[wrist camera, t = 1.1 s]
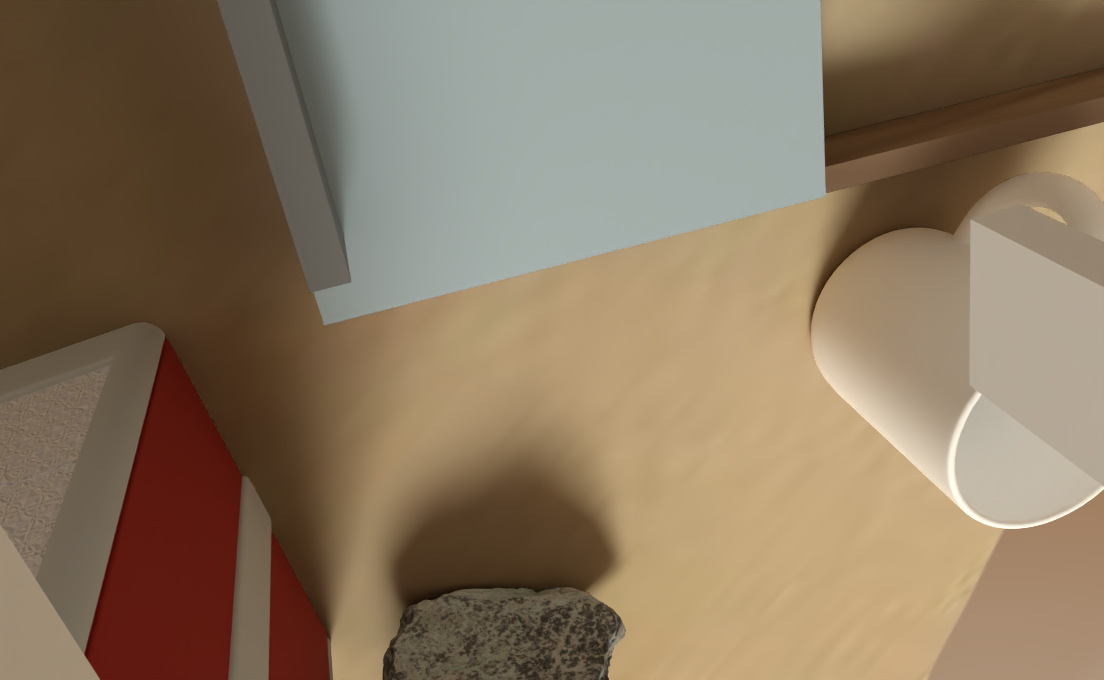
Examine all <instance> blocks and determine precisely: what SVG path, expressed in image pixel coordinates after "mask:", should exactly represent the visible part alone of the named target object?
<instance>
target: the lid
mask: <svg viewBox="0 0 1104 680" xmlns="http://www.w3.org/2000/svg"><path fill="white" fill-rule="evenodd" d="M217 3H218V6H219V9H220V12H221V16H222V19H223V22H224V25H225V28H226V31H227V34H228V38H229V41H230V44H231V47H232V50H233V53H234V56H235V60H236V63H237V66H238V69H239V72H240V75H241V79H242V82H243V85H244V88H245V91H246V94H247V97H248V101H249V104H250V107H251V110H252V113H253V116H254V119H255V123H256V126H257V129H258V132H259V135H260V138H261V142H262V145H263V148H264V151H265V154H266V157H267V160H268V164H269V167H270V170H271V173H272V176H273V179H274V182H275V186H276V189H277V192H278V195H279V198H280V201H281V205H282V208H283V211H284V214H285V217H286V220H287V223H288V227H289V230H290V233H291V236H292V239H293V242H294V245H295V249H296V252H297V255H298V258H299V261H300V264H301V268H302V271H303V274H304V277H305V280H306V283H307V286H308V290H309V293H312V292H314V295H315V298H316V301H317V304H318V308H319V311H320V314H321V317H322V320H323V323H324V326H325V325H328V324H332V323H336V322H340V321H344V320H348V319H352V318H356V317H359V316H363V315H367V314H371V313H375V312H379V311H383V310H387V309H391V308H394V307H398V306H402V305H406V304H410V303H414V302H418V301H422V300H426V299H429V298H433V297H437V296H441V295H445V294H449V293H453V292H457V291H461V290H464V289H468V288H472V287H476V286H480V285H484V284H488V283H492V282H495V281H499V280H503V279H507V278H511V277H515V276H519V275H523V274H527V273H530V272H534V271H538V270H542V269H546V268H550V267H554V266H558V265H562V264H565V263H569V262H573V261H577V260H581V259H585V258H589V257H593V256H596V255H600V254H604V253H608V252H612V251H616V250H620V249H624V248H628V247H631V246H635V245H639V244H643V243H647V242H651V241H655V240H659V239H663V238H666V237H670V236H674V235H678V234H682V233H686V232H690V231H694V230H698V229H701V228H705V227H709V226H713V225H717V224H721V223H725V222H729V221H732V220H736V219H740V218H744V217H748V216H752V215H756V214H760V213H764V212H767V211H771V210H775V209H779V208H783V207H787V206H791V205H795V204H799V203H802V202H806V201H810V200H814V199H818V198H822V197H826V188H825V151H824V114H823V77H822V41H821V4H820V0H217Z"/></svg>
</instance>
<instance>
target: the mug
mask: <svg viewBox="0 0 1104 680" xmlns="http://www.w3.org/2000/svg"><path fill="white" fill-rule="evenodd" d="M1017 204H1022V205H1024V206H1026V207H1028V208H1029V207H1044V208H1047V209H1050V210H1052V211H1054V212H1056V213H1057V214H1059V215H1060V216H1061V217H1062V218H1063V219H1064V221H1065V222H1066V223H1067V225H1068V226H1070V227H1072V228H1074V229H1077V230H1079V231H1081V232H1083V233H1085V234H1088V235H1090V236H1092V237H1094V238H1096V239H1099V240H1101V241H1103V242H1104V202H1103V201H1102V199H1101V198H1100V197H1099V196H1098V195H1097V194H1096V193H1095V192H1094V191H1092V190H1091V189H1090V188H1088V187H1087V186H1086V185H1084V184H1083V183H1082V182H1080V181H1078V180H1076V179H1074V178H1071V177H1069V176H1066V175H1062V174H1058V173H1047V172H1033V173H1025V174H1022V175H1018V176H1015V177H1012V178H1010V179H1008V180H1006V181H1004V182H1002V183H1000V184H998V185H996V186H995V187H993V188H992V189H991V190H989V191H988V192H986V193H985V194H984V195H983V196H982V197H981V198H980V199H979V200H978V201H977V202H976V203H975V204H974V206H973V207H972V208H971V209H970V210H969V212H968V213H967V214H966V216H965V217H964V219H963V220H962V222H961V223H960V225H959V226H958V228H957V230H956V231H955V233H954V235H952V234H950V233H947V232H944V231H940V230H936V229H932V228H923V227H921V228H906V229H900V230H895V231H892V232H889V233H886V234H883V235H881V236H879V237H876V238H874V239H872V240H871V241H869V242H867V243H866V244H864V245H862V246H861V247H860V248H858V249H857V250H856V251H854V252H853V253H852V254H851V255H850V256H849V257H847V258H846V259H845V260H844V261H843V262H842V263H841V264H840V266H839V267H838V268H837V269H836V270H835V271H834V273H833V274H832V275H831V277H830V278H829V280H828V281H827V283H826V285H825V286H824V288H823V290H822V292H821V294H820V296H819V298H818V301H817V303H816V306H815V310H814V313H813V318H812V323H811V345H812V351H813V355H814V359H815V361H816V364H817V366H818V368H819V370H820V371H821V373H822V375H823V376H824V378H825V379H826V381H827V382H828V383H829V384H830V385H831V386H832V387H833V389H834V390H835V391H836V392H837V393H838V394H839V395H840V396H841V397H842V398H843V399H844V400H845V401H846V402H847V403H849V404H850V405H851V406H852V407H853V408H854V409H855V410H856V411H857V412H858V413H859V414H860V415H861V416H862V417H863V418H865V419H866V420H867V421H868V422H869V423H870V424H871V425H872V426H873V427H874V428H875V429H876V430H877V431H878V432H880V433H881V434H882V435H883V436H884V437H885V438H886V439H887V440H888V441H889V442H890V443H891V444H892V445H893V446H894V447H896V448H897V449H898V450H899V451H900V452H901V453H902V454H903V455H904V456H905V457H906V458H907V459H908V460H909V461H910V462H912V463H913V464H914V465H915V466H916V467H917V468H918V469H919V470H920V471H921V472H922V473H923V474H924V475H925V476H927V477H928V478H929V479H930V480H931V481H932V482H933V483H934V484H935V485H936V486H937V487H938V488H939V489H940V490H941V491H943V492H944V493H945V494H946V495H947V496H948V497H949V498H950V499H951V500H952V501H953V502H954V503H955V504H956V505H958V506H959V507H960V508H961V509H962V510H963V511H964V512H965V513H966V514H968V515H969V516H970V517H972V518H973V519H975V520H977V521H979V522H981V523H983V524H987V525H990V526H993V527H998V528H1005V529H1013V528H1014V529H1018V528H1026V527H1032V526H1036V525H1040V524H1044V523H1047V522H1050V521H1052V520H1055V519H1058V518H1060V517H1062V516H1064V515H1066V514H1068V513H1070V512H1072V511H1073V510H1075V509H1077V508H1079V507H1080V506H1082V505H1083V504H1085V503H1086V502H1088V501H1089V500H1091V499H1092V498H1094V497H1095V496H1096V495H1097V494H1098V493H1100V492H1101V491H1102V490H1103V489H1104V486H1102V485H1101V484H1100V483H1098V482H1097V481H1096V480H1094V479H1093V478H1092V477H1090V476H1089V475H1088V474H1086V473H1085V472H1084V471H1082V470H1081V469H1080V468H1078V467H1077V466H1076V465H1074V464H1073V463H1072V462H1070V461H1069V460H1068V459H1066V458H1065V457H1064V456H1062V455H1061V454H1060V453H1059V452H1057V451H1056V450H1055V449H1053V448H1052V447H1051V446H1049V445H1048V444H1047V443H1045V442H1044V441H1043V440H1041V439H1040V438H1039V437H1037V436H1036V435H1035V434H1033V433H1032V432H1031V431H1029V430H1028V429H1027V428H1025V427H1024V426H1023V425H1021V424H1020V423H1019V422H1017V421H1016V420H1015V419H1013V418H1012V417H1011V416H1009V415H1008V414H1007V413H1005V412H1004V411H1003V410H1001V409H1000V408H999V407H997V406H996V405H995V404H994V403H992V402H991V401H990V400H988V399H987V398H986V397H984V396H983V395H982V394H980V393H979V392H978V391H976V390H975V389H974V388H972V387H971V386H970V385H969V359H970V219H973V218H976V217H979V216H982V215H986V214H989V213H992V212H995V211H998V210H1001V209H1005V208H1008V207H1011V206H1014V205H1017Z"/></svg>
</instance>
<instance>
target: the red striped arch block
mask: <svg viewBox="0 0 1104 680" xmlns="http://www.w3.org/2000/svg"><path fill="white" fill-rule="evenodd" d="M0 525H1V526H2V528H3V529H4V531H5V532H6V534H7V535H8V537H9V539H10V540H11V542H12V543H13V545H14V546H15V548H16V549H17V551H18V553H19V554H20V556H21V557H22V559H23V560H24V562H25V564H26V565H27V567H28V568H29V570H30V571H31V573H32V574H33V576H34V578H35V579H36V581H37V582H38V584H39V585H40V587H41V588H42V590H43V592H44V593H45V595H46V596H47V598H48V599H49V601H50V602H51V604H52V606H53V607H54V609H55V610H56V612H57V613H58V615H59V616H60V618H61V620H62V621H63V623H64V624H65V626H66V627H67V629H68V630H69V632H70V634H71V635H72V637H73V638H74V640H75V641H76V643H77V644H78V646H79V648H80V649H81V651H82V652H83V654H84V655H85V657H86V658H87V660H88V662H89V663H90V665H91V666H92V668H93V669H94V671H95V672H96V674H97V676H98V677H99V679H100V680H333V673H332V657H331V642H330V639H329V638H327V632H326V630H325V629H324V627H323V625H322V623H321V621H320V619H319V617H318V616H317V614H316V612H315V610H314V608H313V606H312V604H311V603H310V601H309V599H308V597H307V595H306V593H305V592H304V590H303V588H302V586H301V584H300V582H299V580H298V579H297V577H296V575H295V573H294V571H293V569H292V567H291V566H290V564H289V562H288V560H287V558H286V556H285V555H284V553H283V551H282V549H281V547H280V545H279V543H278V542H277V540H276V538H275V536H274V534H273V532H272V530H271V518H270V516H269V514H268V513H267V511H266V509H265V507H264V505H263V503H262V501H261V499H260V498H259V496H258V494H257V492H256V490H255V488H254V486H253V485H252V483H251V481H250V479H249V478H248V477H246V476H242V475H241V473H240V471H239V469H238V468H237V466H236V464H235V462H234V460H233V458H232V456H231V455H230V453H229V451H228V449H227V447H226V445H225V443H224V442H223V440H222V438H221V436H220V434H219V432H218V431H217V429H216V427H215V425H214V423H213V421H212V419H211V418H210V416H209V414H208V412H207V410H206V408H205V406H204V405H203V403H202V401H201V399H200V397H199V395H198V394H197V392H196V390H195V388H194V386H193V384H192V382H191V381H190V379H189V377H188V375H187V373H186V371H185V369H184V368H183V366H182V364H181V362H180V360H179V358H178V357H177V355H176V353H175V351H174V349H173V347H172V345H171V344H170V342H169V341H166V340H165V334H164V332H163V331H162V330H161V329H160V328H159V327H157V326H155V325H154V324H151V323H146V322H139V323H133V324H130V325H127V326H125V327H122V328H119V329H116V330H113V331H110V332H107V333H105V334H102V335H99V336H96V337H93V338H90V339H87V340H84V341H82V342H79V343H76V344H73V345H70V346H67V347H64V348H61V349H59V350H56V351H53V352H50V353H47V354H44V355H41V356H39V357H36V358H33V359H30V360H27V361H24V362H21V363H18V364H16V365H13V366H10V367H7V368H4V369H1V370H0Z"/></svg>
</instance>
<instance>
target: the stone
mask: <svg viewBox="0 0 1104 680" xmlns="http://www.w3.org/2000/svg"><path fill="white" fill-rule="evenodd" d="M625 631H626V629H625V627H624V625H623V623H622V620H621V618H620V617H619V616H618V615H617V614H616V612H615V611H614V610H613V609H612V608H610V607H608V606H607V605H605V604H604V603H603V602H600V601H598V600H597V599H595V598H594V597H593V596H592V595H591V594H590V593H589V592H584V591H581V590H578V589H575V588H572V587H559V588H554V589H547V590H543V591H540V592H537V593H536V592H535V591H533V590H532V589H525V588H519V589H513V588H508V589H504V588H493V589H463V590H458V591H454V592H452V593H450V594H443V595H442V596H440V597H439V598H437V599H434V600H423V601H421V602H420V603H418V604H415V605H409V607H408V608H407V609H406V610H405V611H404V613H403V614H402V618H401V620H400V628H399V631H398V633H397V635H396V636H395V637H394V638H393V639H392V640H391V642H390V646H389V648H388V649H387V651H386V653H385V655H384V658H383V664H384V666H383V680H609V678H608V667H609V666H610V659H611V658H612V652H613V649H614V647H615V645H616V644H617V643H618V642H619V641H620V640H621V639H622V638H623V637H624V636H625Z"/></svg>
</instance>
